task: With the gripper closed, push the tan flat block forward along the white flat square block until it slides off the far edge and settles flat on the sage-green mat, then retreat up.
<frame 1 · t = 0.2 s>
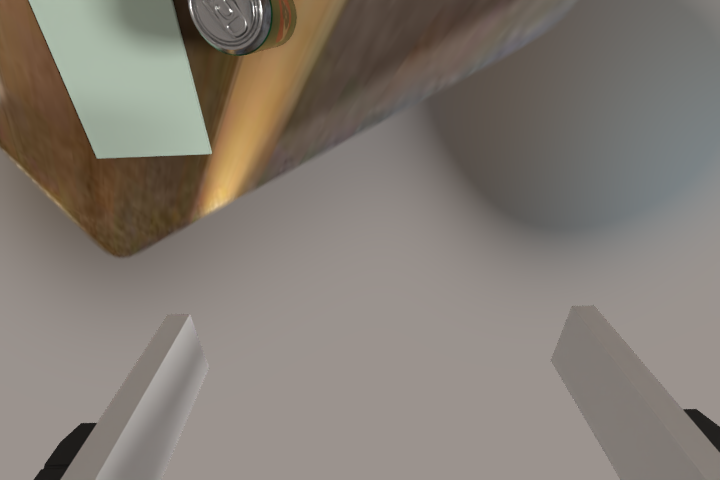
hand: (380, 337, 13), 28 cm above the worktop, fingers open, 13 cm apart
soda can: (268, 14, 31), on the worktop
mat: (130, 83, 34), on the worktop
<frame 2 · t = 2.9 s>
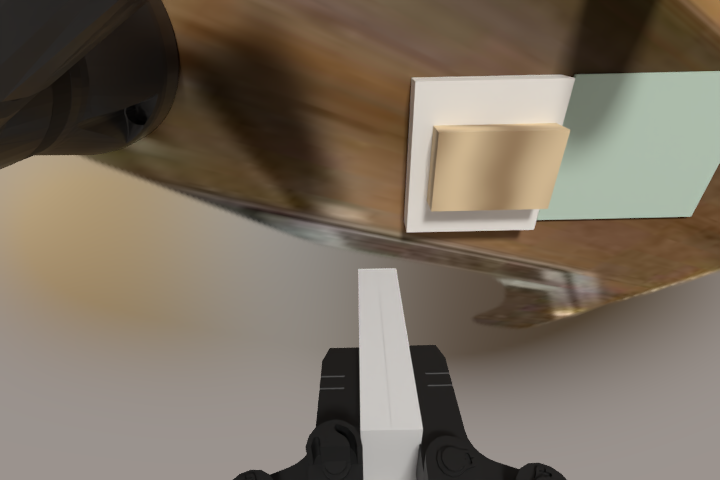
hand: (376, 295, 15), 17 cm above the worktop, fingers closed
tan flat block: (487, 163, 27), point 2 cm above the worktop, touching white flat square block
white flat square block: (474, 155, 29), on the worktop
mat: (637, 152, 29), on the worktop
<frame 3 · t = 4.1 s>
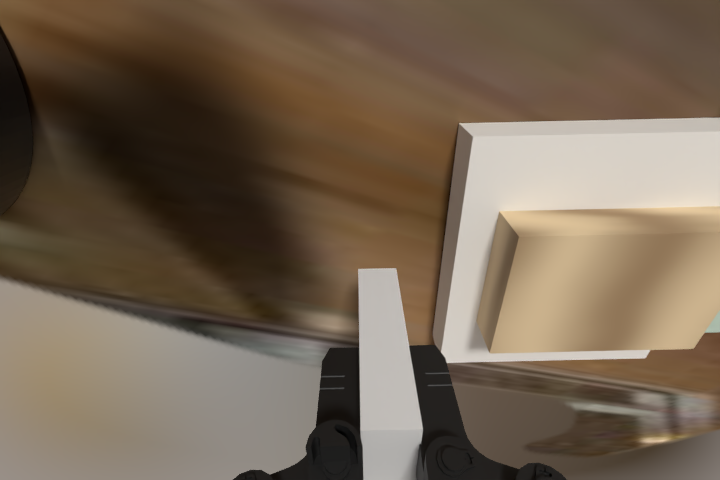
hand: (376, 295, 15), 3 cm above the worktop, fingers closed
tan flat block: (587, 269, 16), point 2 cm above the worktop, touching white flat square block
white flat square block: (554, 245, 17), on the worktop
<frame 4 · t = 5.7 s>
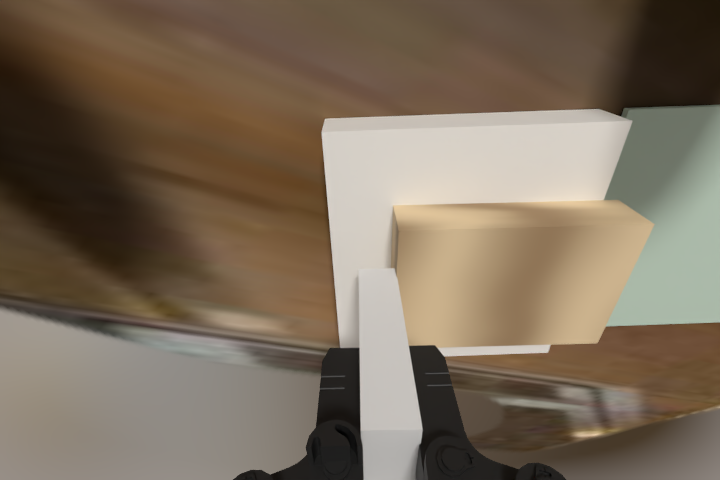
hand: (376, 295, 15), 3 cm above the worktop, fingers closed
tan flat block: (492, 263, 16), point 2 cm above the worktop, touching white flat square block, gripper
white flat square block: (447, 240, 17), on the worktop
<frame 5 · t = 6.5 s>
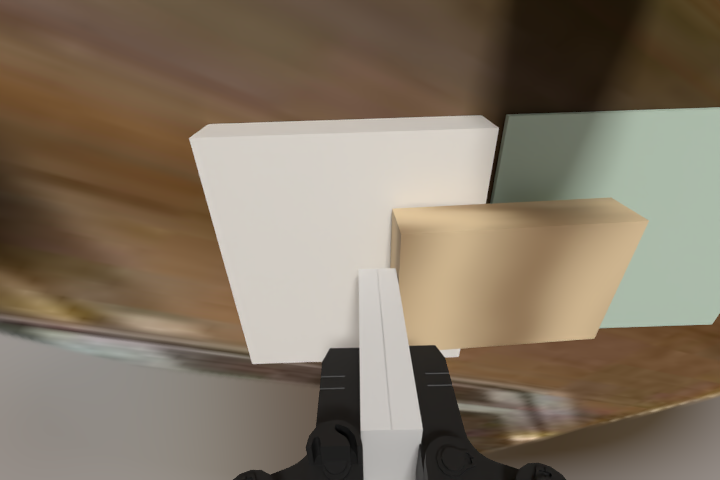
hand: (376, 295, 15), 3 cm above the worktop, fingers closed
tan flat block: (490, 264, 16), point 2 cm above the worktop, touching gripper
white flat square block: (351, 245, 17), on the worktop
mat: (625, 236, 17), on the worktop
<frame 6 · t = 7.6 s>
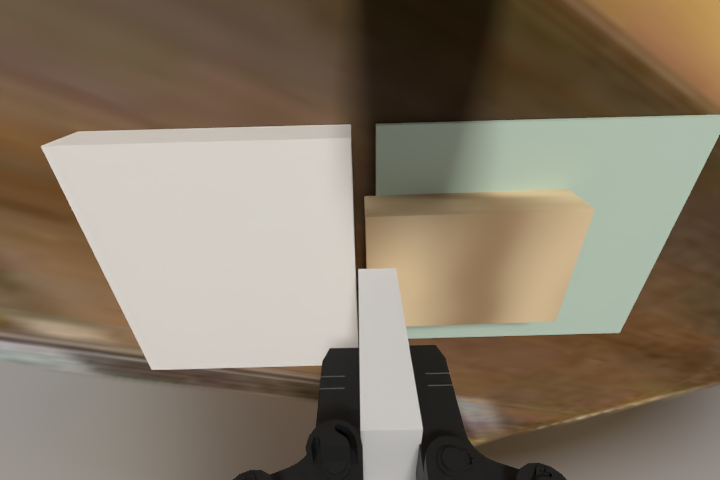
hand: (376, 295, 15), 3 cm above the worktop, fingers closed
tan flat block: (458, 249, 17), resting on mat
white flat square block: (243, 252, 17), on the worktop
mat: (517, 244, 17), on the worktop
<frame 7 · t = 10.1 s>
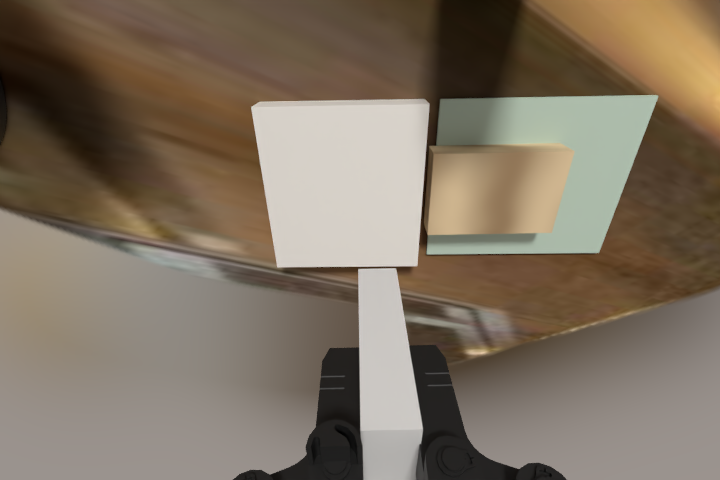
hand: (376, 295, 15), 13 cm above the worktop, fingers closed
tan flat block: (487, 185, 26), resting on mat
white flat square block: (345, 185, 27), on the worktop
mat: (526, 183, 26), on the worktop
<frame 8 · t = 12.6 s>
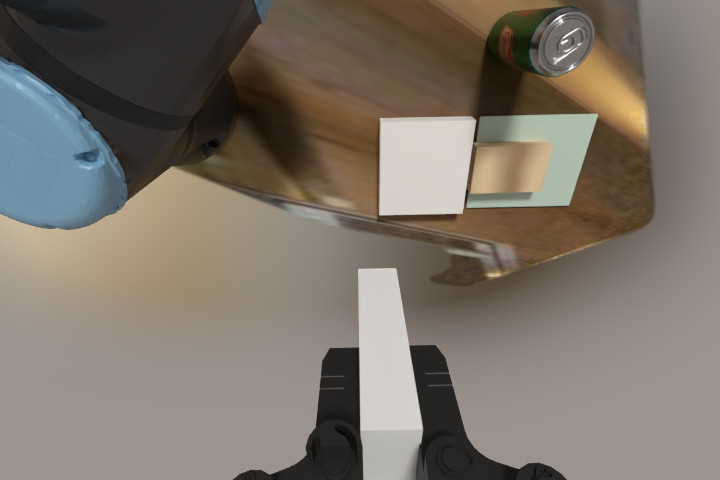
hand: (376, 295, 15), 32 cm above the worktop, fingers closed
soda can: (509, 38, 38), on the worktop
tan flat block: (504, 164, 45), resting on mat
white flat square block: (421, 165, 45), on the worktop
mat: (526, 163, 45), on the worktop
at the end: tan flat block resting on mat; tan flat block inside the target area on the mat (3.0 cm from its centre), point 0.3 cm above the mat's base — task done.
